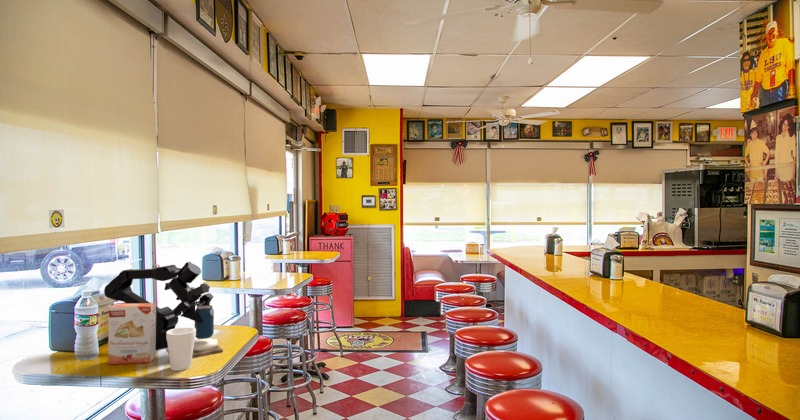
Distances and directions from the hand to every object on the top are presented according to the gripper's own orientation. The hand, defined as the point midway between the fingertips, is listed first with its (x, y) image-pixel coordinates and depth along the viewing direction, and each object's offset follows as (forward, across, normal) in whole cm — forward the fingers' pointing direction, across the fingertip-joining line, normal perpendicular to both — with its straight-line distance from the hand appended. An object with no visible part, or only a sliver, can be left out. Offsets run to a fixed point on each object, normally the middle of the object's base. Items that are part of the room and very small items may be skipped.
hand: (207, 320), depth 175 cm
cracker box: (-4, -17, +22) cm, 28 cm away
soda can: (+4, 0, +6) cm, 7 cm away
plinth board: (+6, -2, +11) cm, 13 cm away
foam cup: (+10, -19, +7) cm, 22 cm away
